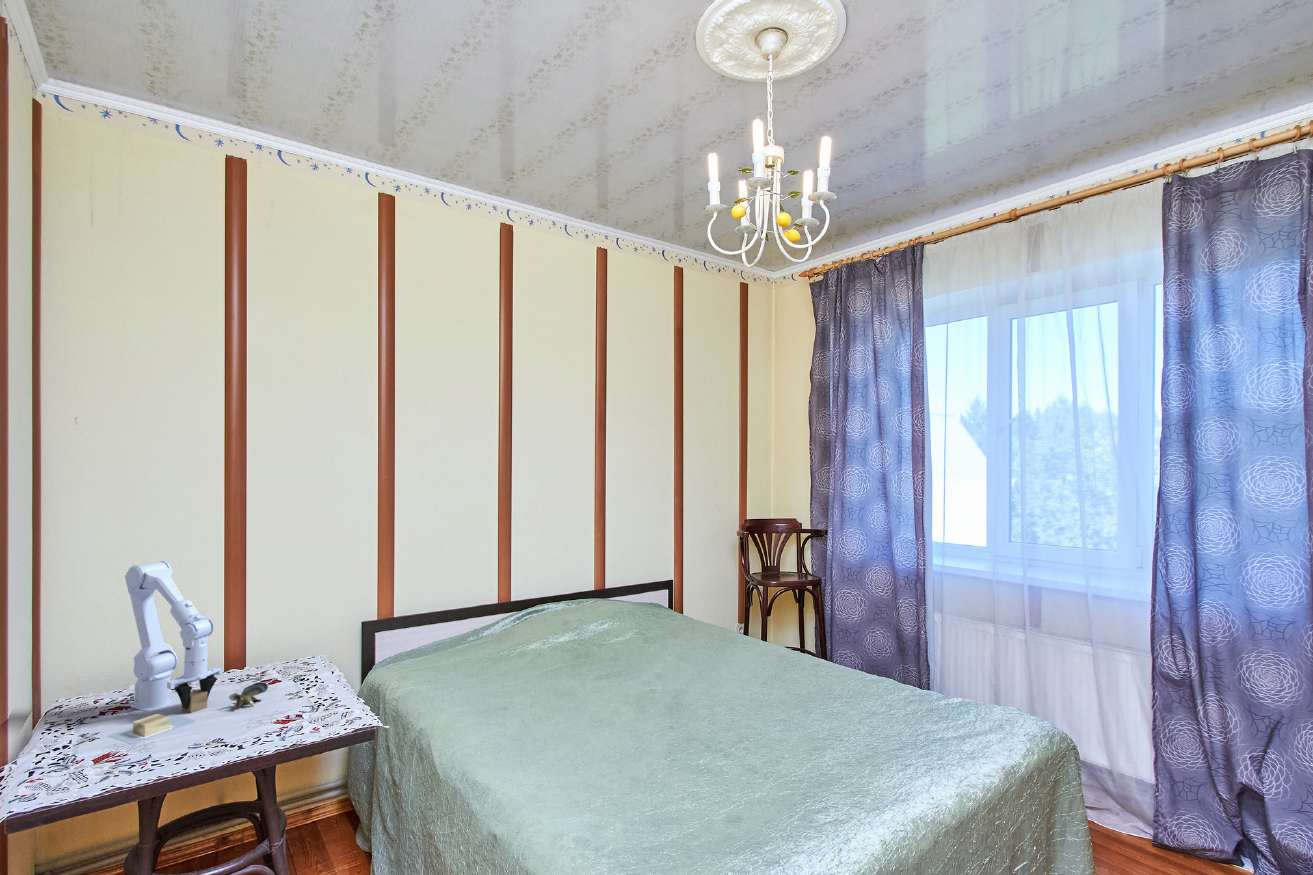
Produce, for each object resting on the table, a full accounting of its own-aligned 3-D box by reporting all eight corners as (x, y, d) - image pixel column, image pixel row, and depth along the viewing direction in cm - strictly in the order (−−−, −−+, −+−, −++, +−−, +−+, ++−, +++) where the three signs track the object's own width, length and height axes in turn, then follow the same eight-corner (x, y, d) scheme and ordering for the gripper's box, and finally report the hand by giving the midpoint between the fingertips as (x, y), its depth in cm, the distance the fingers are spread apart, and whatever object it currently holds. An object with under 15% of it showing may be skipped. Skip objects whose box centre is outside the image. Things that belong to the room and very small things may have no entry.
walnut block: (182, 711, 188) (182, 694, 188) (198, 705, 192) (198, 689, 192) (191, 713, 186) (191, 696, 186) (207, 708, 190) (207, 691, 190)
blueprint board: (107, 737, 171) (107, 735, 171) (172, 715, 185) (172, 713, 185) (131, 745, 166) (131, 743, 166) (196, 722, 180) (196, 720, 180)
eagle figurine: (253, 707, 188) (274, 691, 197) (239, 689, 188) (260, 673, 197) (235, 719, 189) (256, 702, 198) (221, 701, 189) (243, 685, 198)
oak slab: (132, 732, 173) (132, 721, 173) (157, 724, 178) (157, 713, 178) (144, 736, 170) (145, 725, 170) (169, 727, 176) (169, 717, 176)
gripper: (177, 669, 181) (175, 716, 181) (228, 654, 195) (227, 698, 194) (163, 665, 184) (161, 711, 184) (215, 651, 197) (213, 694, 197)
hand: (194, 704), depth 189 cm, fingers closed on walnut block, 4 cm apart
